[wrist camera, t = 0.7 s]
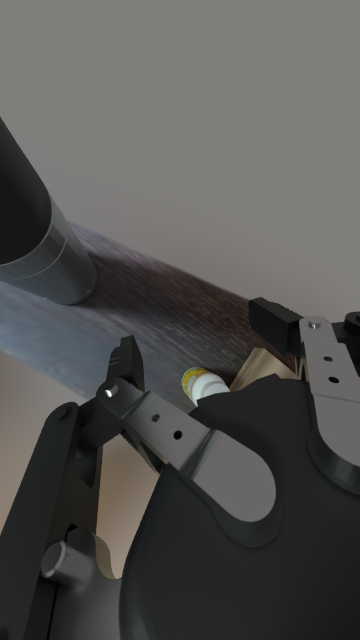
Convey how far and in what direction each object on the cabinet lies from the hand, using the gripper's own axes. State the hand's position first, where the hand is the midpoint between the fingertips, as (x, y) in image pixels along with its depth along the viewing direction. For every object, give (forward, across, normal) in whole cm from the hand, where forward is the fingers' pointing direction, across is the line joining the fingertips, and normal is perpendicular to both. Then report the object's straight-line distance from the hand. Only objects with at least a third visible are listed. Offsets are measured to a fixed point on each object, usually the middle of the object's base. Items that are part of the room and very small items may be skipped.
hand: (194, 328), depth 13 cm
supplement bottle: (+14, -1, +20) cm, 24 cm away
